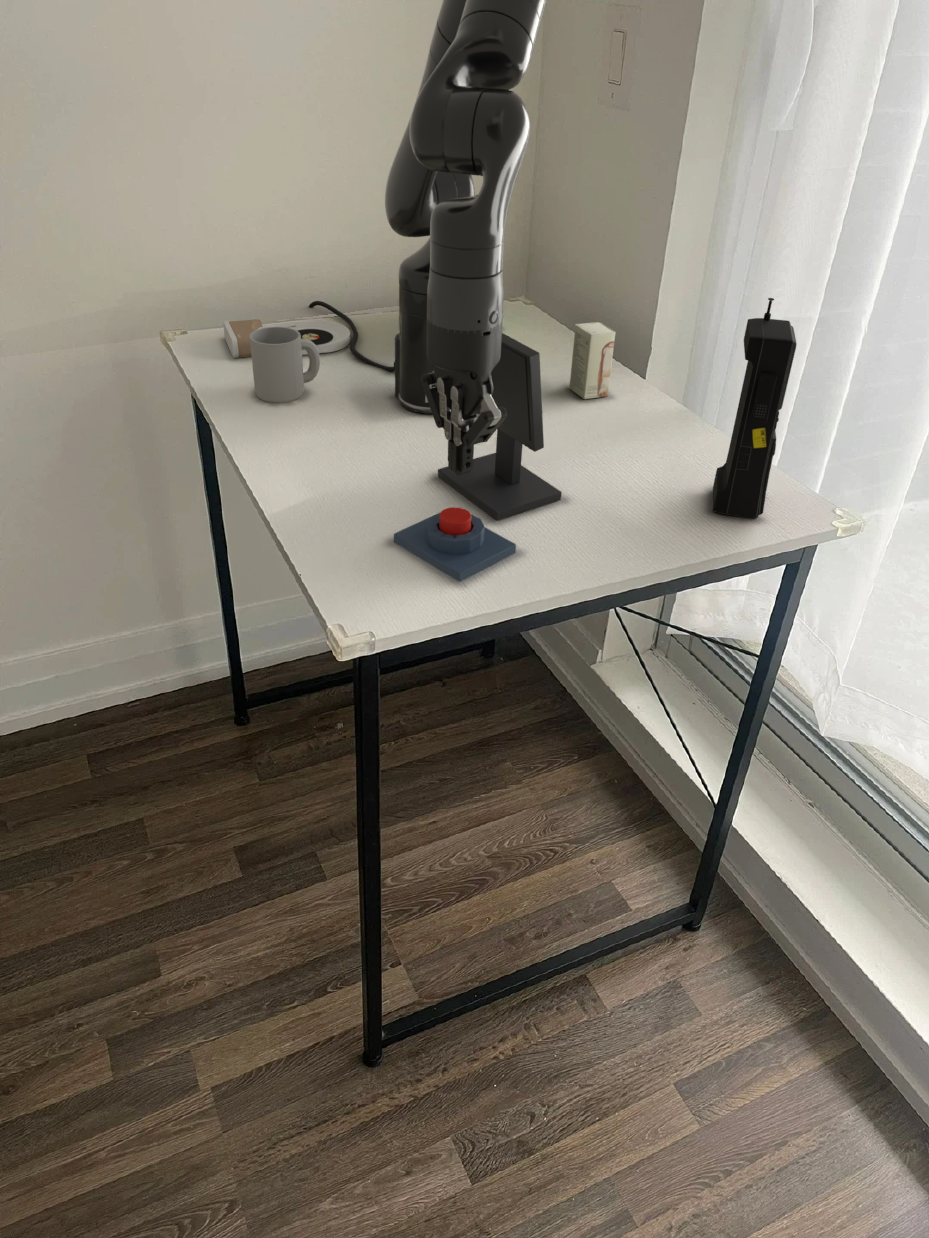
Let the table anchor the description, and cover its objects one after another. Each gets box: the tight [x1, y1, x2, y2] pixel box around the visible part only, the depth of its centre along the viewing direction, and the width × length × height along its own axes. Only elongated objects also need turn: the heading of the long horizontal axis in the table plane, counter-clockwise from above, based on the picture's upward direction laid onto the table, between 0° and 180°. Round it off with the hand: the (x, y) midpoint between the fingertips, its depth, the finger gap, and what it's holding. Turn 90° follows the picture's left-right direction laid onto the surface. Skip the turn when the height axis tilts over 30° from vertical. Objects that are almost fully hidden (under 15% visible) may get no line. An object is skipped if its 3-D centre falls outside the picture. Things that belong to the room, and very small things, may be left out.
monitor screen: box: [491, 332, 545, 452], centre depth 115 cm, size 3×16×13 cm, turn 34°
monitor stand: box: [437, 429, 562, 522], centre depth 122 cm, size 10×13×8 cm
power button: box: [439, 506, 472, 535], centre depth 111 cm, size 4×4×2 cm
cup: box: [250, 327, 321, 404], centre depth 143 cm, size 7×10×9 cm
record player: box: [222, 318, 351, 359], centre depth 161 cm, size 12×3×20 cm
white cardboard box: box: [568, 321, 616, 400], centre depth 147 cm, size 5×4×10 cm
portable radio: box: [712, 297, 797, 519], centre depth 115 cm, size 8×6×25 cm
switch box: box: [393, 511, 517, 583], centre depth 112 cm, size 11×9×3 cm
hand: (460, 471), depth 107 cm, fingers closed
